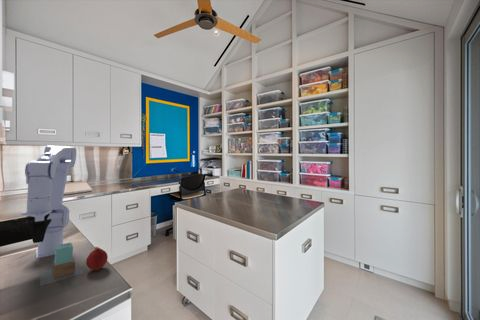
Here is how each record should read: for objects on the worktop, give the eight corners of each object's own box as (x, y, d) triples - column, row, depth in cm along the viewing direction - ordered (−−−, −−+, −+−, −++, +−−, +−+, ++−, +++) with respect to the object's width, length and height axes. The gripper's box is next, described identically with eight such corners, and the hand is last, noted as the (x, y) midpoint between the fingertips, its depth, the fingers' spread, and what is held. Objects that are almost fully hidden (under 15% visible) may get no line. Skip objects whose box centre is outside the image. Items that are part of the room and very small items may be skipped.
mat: (39, 273, 66) (39, 272, 66) (78, 263, 73) (78, 261, 73) (40, 287, 59) (40, 286, 59) (83, 274, 66) (83, 273, 66)
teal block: (70, 257, 69) (71, 242, 69) (72, 261, 66) (72, 246, 66) (54, 261, 66) (55, 245, 66) (55, 265, 63) (56, 249, 63)
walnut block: (52, 271, 66) (52, 261, 66) (72, 266, 70) (72, 256, 70) (53, 278, 62) (54, 266, 63) (74, 272, 66) (75, 261, 66)
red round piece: (103, 264, 72) (104, 241, 72) (109, 270, 69) (110, 246, 69) (83, 270, 68) (84, 246, 68) (88, 277, 64) (89, 252, 64)
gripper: (22, 195, 70) (20, 236, 69) (21, 201, 60) (19, 249, 59) (50, 194, 75) (49, 231, 74) (54, 199, 65) (52, 242, 64)
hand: (37, 239), depth 67 cm, fingers open, 7 cm apart
